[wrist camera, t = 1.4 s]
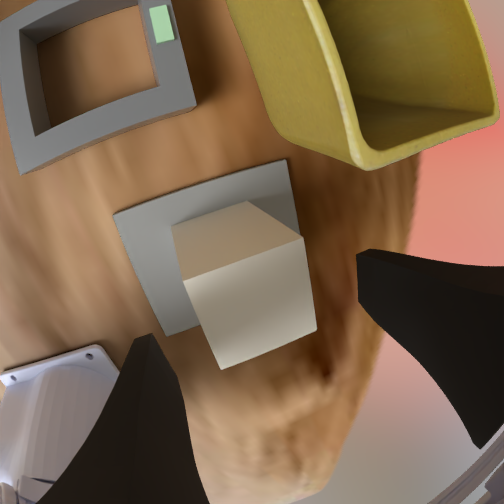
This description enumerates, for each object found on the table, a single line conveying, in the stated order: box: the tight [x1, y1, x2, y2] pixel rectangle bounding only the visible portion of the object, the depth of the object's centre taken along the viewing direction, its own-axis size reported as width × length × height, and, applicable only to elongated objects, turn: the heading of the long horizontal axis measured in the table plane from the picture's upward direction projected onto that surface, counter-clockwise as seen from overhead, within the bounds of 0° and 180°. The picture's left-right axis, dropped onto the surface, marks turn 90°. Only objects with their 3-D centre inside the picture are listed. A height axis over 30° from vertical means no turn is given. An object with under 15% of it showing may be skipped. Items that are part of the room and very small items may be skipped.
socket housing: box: [0, 0, 197, 176], centre depth 9 cm, size 8×8×3 cm
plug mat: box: [113, 159, 300, 337], centre depth 15 cm, size 9×8×1 cm
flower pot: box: [226, 0, 500, 171], centre depth 9 cm, size 9×9×9 cm
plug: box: [170, 201, 317, 370], centre depth 13 cm, size 4×4×6 cm
